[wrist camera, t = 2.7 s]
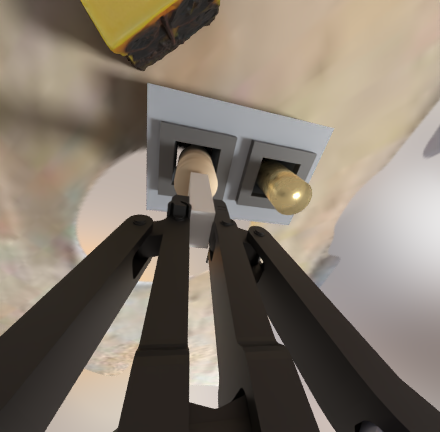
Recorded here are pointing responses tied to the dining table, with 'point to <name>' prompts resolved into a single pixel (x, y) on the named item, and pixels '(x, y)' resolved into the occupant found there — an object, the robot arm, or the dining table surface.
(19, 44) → the dining table surface
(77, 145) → the dining table surface
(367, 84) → the dining table surface
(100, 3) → the candle
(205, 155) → the beech peg
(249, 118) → the socket block
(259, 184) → the brass peg
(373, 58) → the dining table surface
